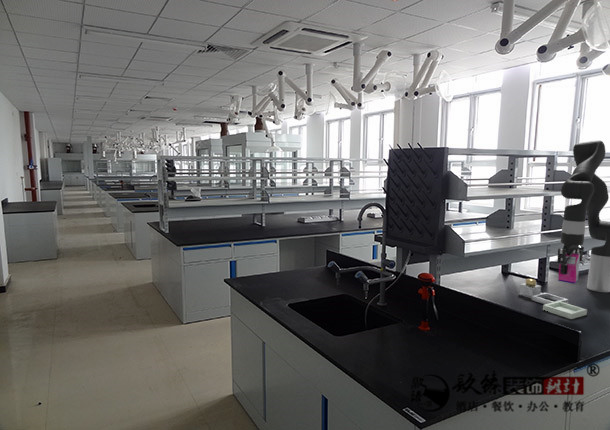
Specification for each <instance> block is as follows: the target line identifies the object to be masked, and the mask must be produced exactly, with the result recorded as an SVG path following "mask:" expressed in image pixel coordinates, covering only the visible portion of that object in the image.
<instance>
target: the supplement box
mask: <svg viewBox="0 0 610 430" xmlns="http://www.w3.org/2000/svg"><path fill="white" fill-rule="evenodd" d="M569 256H570V255H567V254H566V257H569ZM560 260H561V259H560ZM579 260H580V253H578V254H576V253H575V254H573V255H572V256H571V260H570V261H569V263H568V269H567V274H566V275H564V274H561V273H560V269H561V264H560V263H559V266H558V279H557V281H558V282H564V283H569V284H573V285H575V284H576V283H577V282H578V281H579V269H580V261H579Z"/></svg>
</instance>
